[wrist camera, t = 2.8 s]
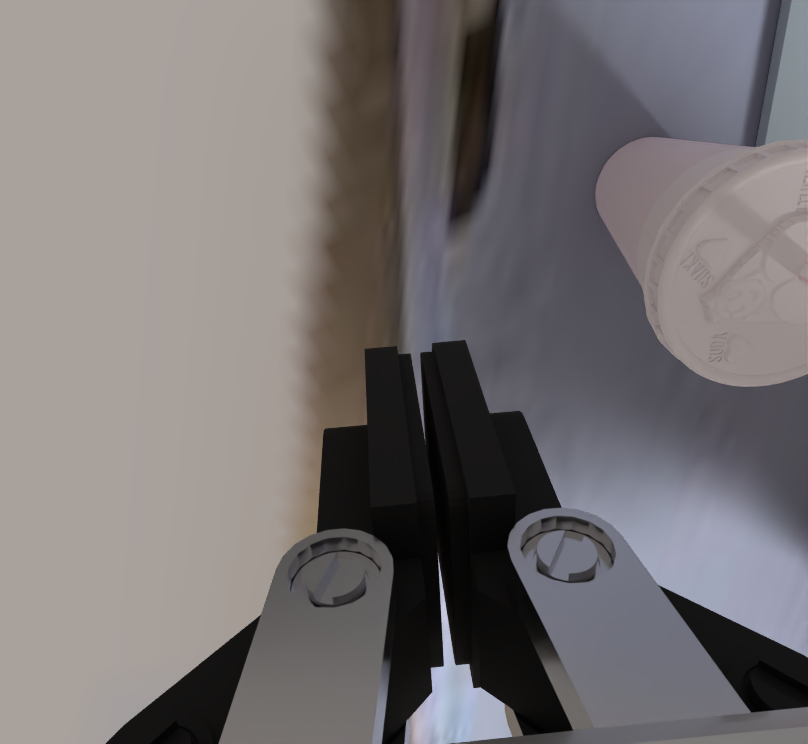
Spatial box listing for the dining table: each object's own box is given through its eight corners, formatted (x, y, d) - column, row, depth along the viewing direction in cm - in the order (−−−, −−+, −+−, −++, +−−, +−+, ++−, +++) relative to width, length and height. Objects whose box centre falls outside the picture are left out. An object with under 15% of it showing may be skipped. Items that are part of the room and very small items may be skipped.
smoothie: (744, 227, 26) (1081, 421, 14) (588, 294, 27) (771, 531, 15) (708, 63, 23) (1095, 125, 11) (535, 146, 24) (708, 288, 12)
